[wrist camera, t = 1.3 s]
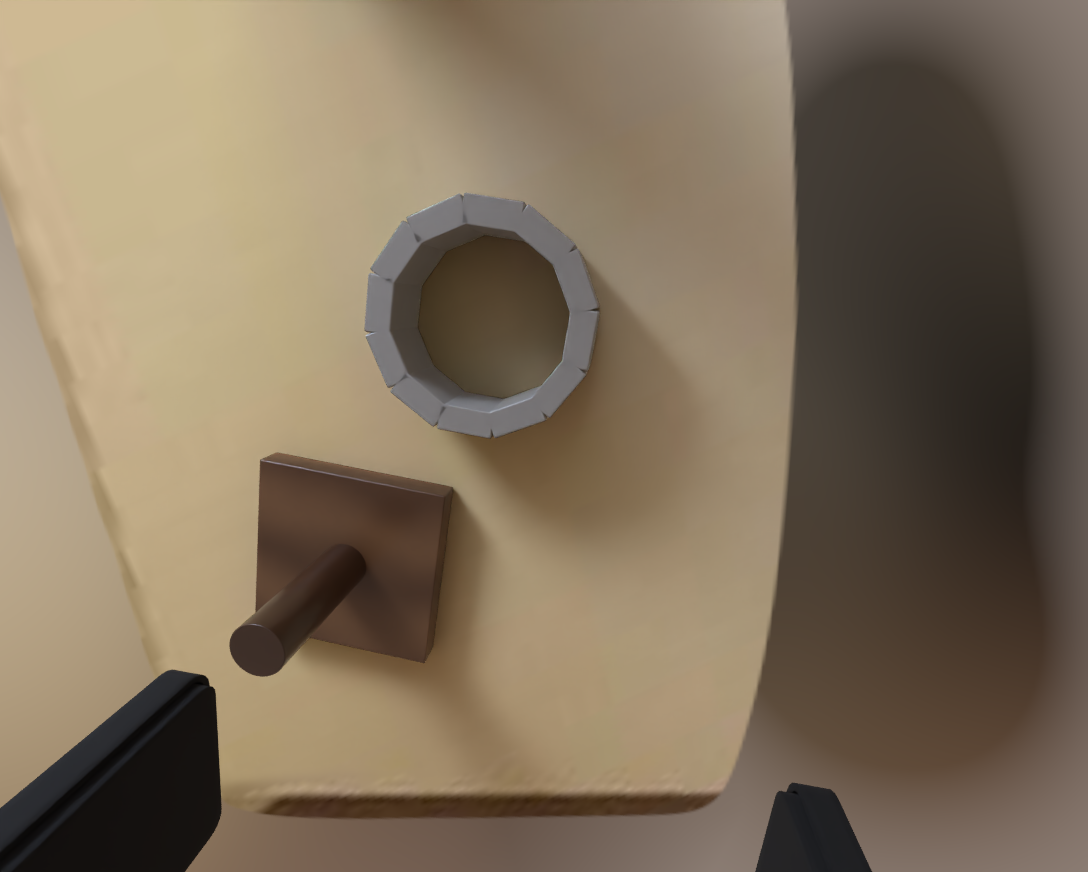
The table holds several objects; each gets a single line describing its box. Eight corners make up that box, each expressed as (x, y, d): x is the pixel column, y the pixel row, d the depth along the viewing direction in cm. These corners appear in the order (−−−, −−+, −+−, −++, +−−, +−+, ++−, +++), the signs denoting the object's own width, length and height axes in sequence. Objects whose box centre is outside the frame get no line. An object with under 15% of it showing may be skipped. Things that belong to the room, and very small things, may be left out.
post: (276, 451, 30) (138, 513, 21) (453, 486, 29) (386, 565, 20) (270, 611, 32) (144, 725, 23) (433, 647, 31) (365, 778, 23)
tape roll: (406, 195, 26) (375, 178, 22) (615, 228, 25) (616, 216, 21) (388, 400, 28) (357, 413, 25) (577, 435, 27) (572, 454, 24)
